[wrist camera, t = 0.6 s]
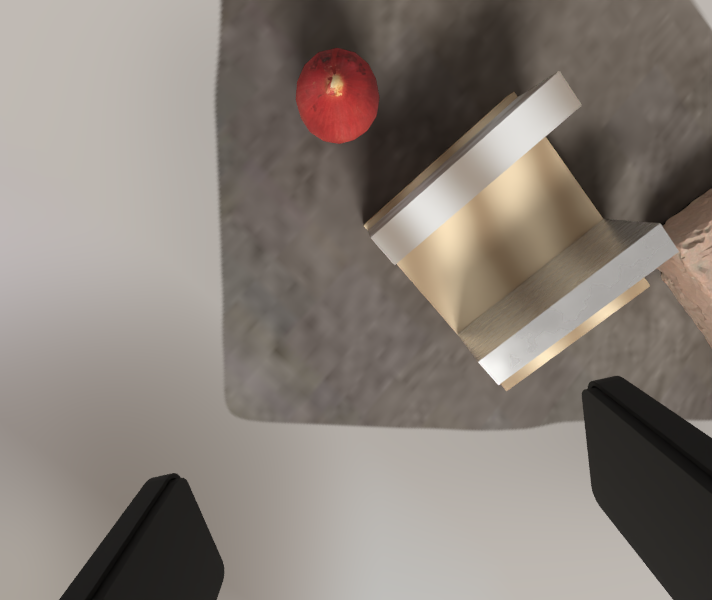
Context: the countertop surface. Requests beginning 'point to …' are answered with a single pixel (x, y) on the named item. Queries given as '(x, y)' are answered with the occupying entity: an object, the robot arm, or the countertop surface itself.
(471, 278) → the vise base
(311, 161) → the countertop surface
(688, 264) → the brick
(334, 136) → the onion
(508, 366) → the vise jaw
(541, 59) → the countertop surface
